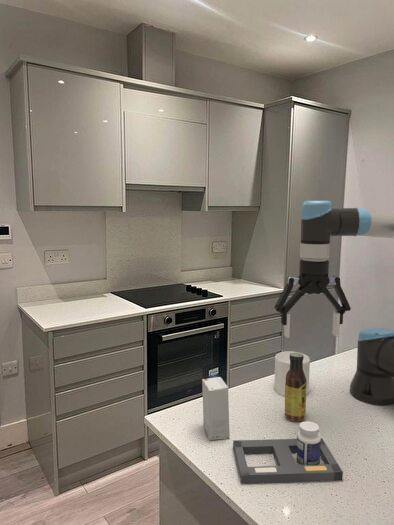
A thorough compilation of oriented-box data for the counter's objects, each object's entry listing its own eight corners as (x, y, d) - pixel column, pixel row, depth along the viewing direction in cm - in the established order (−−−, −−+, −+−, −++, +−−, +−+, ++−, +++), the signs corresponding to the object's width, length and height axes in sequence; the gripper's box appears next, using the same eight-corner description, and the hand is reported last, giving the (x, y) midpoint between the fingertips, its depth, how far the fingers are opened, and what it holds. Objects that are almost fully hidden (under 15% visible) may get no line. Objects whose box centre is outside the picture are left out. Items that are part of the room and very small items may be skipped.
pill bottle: (321, 459, 103) (323, 422, 102) (317, 472, 98) (319, 434, 97) (298, 453, 106) (299, 417, 104) (294, 466, 100) (295, 428, 99)
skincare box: (229, 438, 112) (230, 388, 110) (208, 441, 111) (209, 390, 109) (221, 423, 120) (221, 375, 118) (201, 425, 119) (201, 377, 117)
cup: (294, 401, 134) (295, 366, 132) (267, 388, 143) (268, 356, 141) (315, 391, 141) (316, 358, 139) (288, 380, 150) (289, 348, 148)
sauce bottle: (305, 423, 120) (308, 359, 117) (284, 421, 121) (286, 358, 118) (304, 412, 126) (307, 351, 123) (284, 410, 128) (286, 350, 125)
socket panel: (321, 445, 109) (321, 437, 109) (342, 480, 95) (342, 471, 95) (233, 448, 108) (233, 439, 108) (241, 483, 94) (241, 474, 94)
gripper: (354, 256, 112) (350, 330, 115) (264, 257, 111) (263, 332, 114) (366, 260, 105) (361, 339, 108) (271, 261, 103) (269, 341, 107)
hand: (311, 336), depth 111 cm, fingers open, 13 cm apart
